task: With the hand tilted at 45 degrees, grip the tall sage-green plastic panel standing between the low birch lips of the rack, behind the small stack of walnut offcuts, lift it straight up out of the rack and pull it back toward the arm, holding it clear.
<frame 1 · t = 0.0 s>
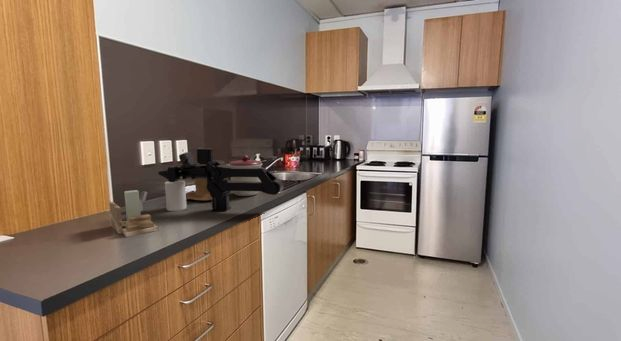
hand: (164, 171, 139), 17 cm above the counter, tool horizontal, fingers open, 9 cm apart
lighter: (140, 210, 138), on the counter
pale green upright block: (134, 226, 115), resting in rack
canister: (246, 194, 169), on the counter
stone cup: (202, 200, 158), on the counter
rack: (134, 226, 115), on the counter
cup: (176, 208, 141), on the counter
offcut stack: (139, 222, 109), point 3 cm above the counter
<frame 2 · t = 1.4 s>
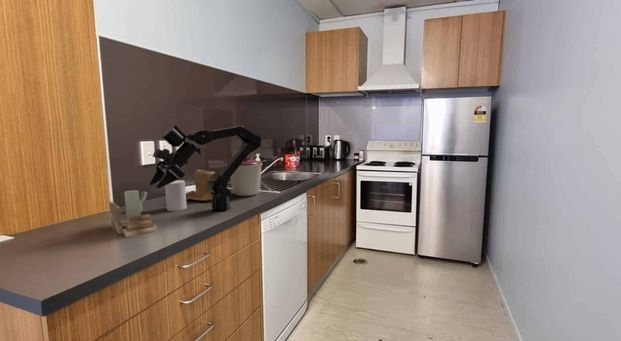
hand: (153, 186, 119), 14 cm above the counter, tool tilted 45°, fingers open, 9 cm apart
nothing on the counter moved.
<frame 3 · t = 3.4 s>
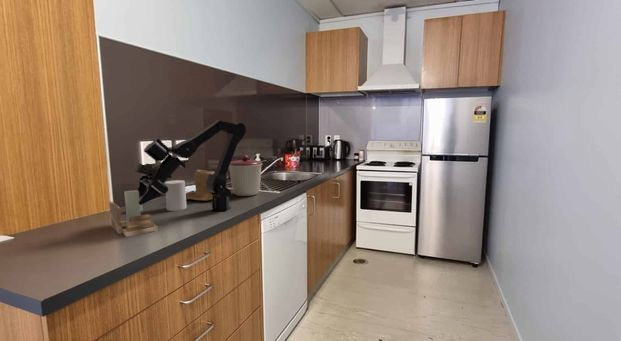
hand: (136, 202, 115), 9 cm above the counter, tool tilted 45°, fingers open, 9 cm apart
nothing on the counter moved.
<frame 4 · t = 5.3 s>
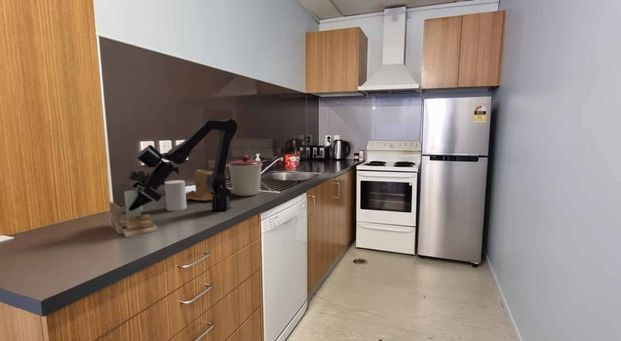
hand: (128, 209, 114), 7 cm above the counter, tool tilted 45°, fingers closed on pale green upright block, 3 cm apart
pale green upright block: (134, 226, 115), resting in rack, touching gripper
everything else where it was.
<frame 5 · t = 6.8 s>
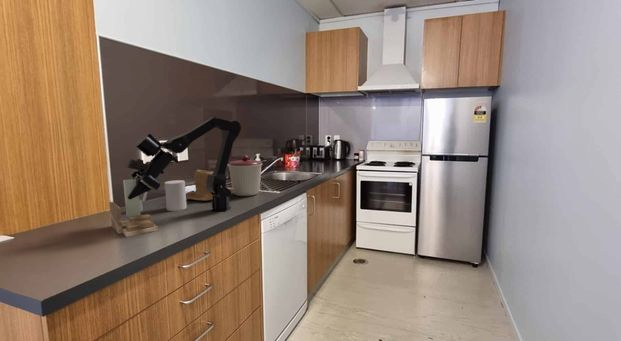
hand: (127, 198, 113), 11 cm above the counter, tool tilted 45°, fingers closed on pale green upright block, 3 cm apart
pale green upright block: (133, 215, 115), point 4 cm above the counter, touching gripper
everything else where it was.
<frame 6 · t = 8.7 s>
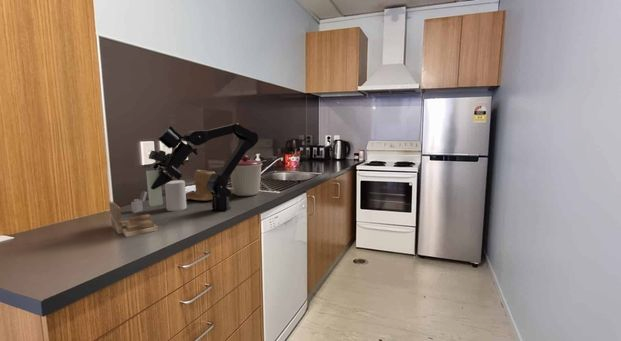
hand: (150, 188, 118), 13 cm above the counter, tool tilted 45°, fingers closed on pale green upright block, 3 cm apart
pale green upright block: (156, 204, 120), point 7 cm above the counter, touching gripper
everything else where it was.
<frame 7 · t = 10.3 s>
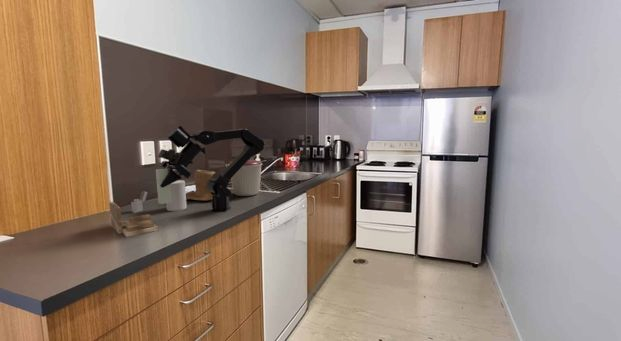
hand: (159, 186, 120), 14 cm above the counter, tool tilted 45°, fingers closed on pale green upright block, 3 cm apart
pale green upright block: (164, 202, 122), point 7 cm above the counter, touching gripper
everything else where it was.
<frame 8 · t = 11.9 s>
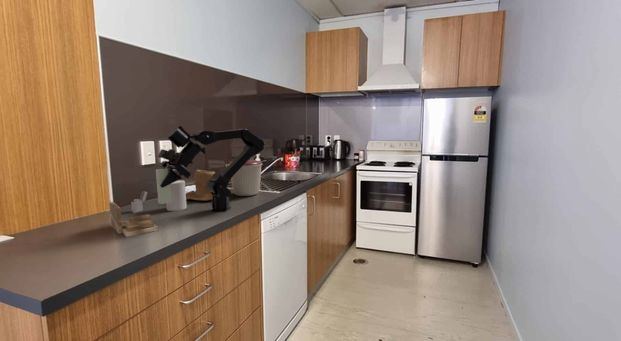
hand: (159, 186, 120), 14 cm above the counter, tool tilted 45°, fingers closed on pale green upright block, 3 cm apart
pale green upright block: (164, 202, 122), point 7 cm above the counter, touching gripper
everything else where it was.
at the end: the gripper is holding pale green upright block; pale green upright block point 6.9 cm above the counter; pale green upright block moved 13.1 cm from its start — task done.
